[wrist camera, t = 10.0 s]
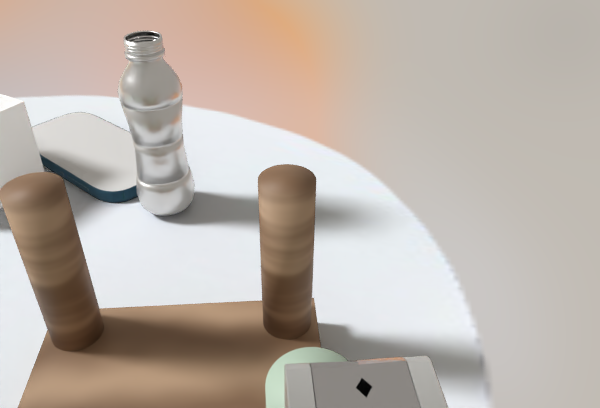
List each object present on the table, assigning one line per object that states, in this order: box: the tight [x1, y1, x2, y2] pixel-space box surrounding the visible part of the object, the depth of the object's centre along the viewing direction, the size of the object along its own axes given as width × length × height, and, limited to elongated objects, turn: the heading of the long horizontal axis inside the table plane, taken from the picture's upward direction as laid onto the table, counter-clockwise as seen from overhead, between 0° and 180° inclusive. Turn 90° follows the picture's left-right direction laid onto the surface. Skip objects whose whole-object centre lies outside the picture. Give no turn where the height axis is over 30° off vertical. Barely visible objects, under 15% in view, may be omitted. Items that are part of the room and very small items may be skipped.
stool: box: [0, 164, 321, 408], centre depth 35 cm, size 22×22×17 cm
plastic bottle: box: [118, 31, 195, 216], centre depth 58 cm, size 6×7×20 cm
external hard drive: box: [32, 112, 138, 203], centre depth 73 cm, size 24×12×2 cm, turn 51°
